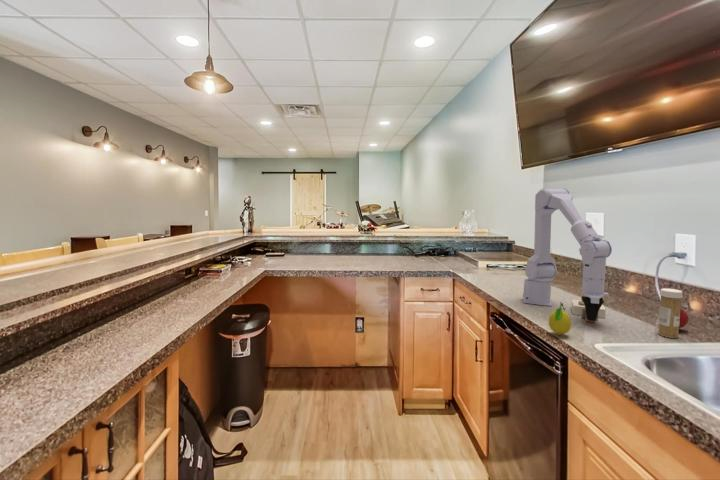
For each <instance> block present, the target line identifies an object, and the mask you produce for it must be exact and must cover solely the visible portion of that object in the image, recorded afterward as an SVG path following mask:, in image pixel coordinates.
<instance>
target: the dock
mask: <svg viewBox="0 0 720 480" xmlns="http://www.w3.org/2000/svg"><path fill="white" fill-rule="evenodd" d="M582 309H585V306H581V299H580V300H579V299H571V312H572V314H573V315H576V316H582ZM598 319H606V308H605V306H604V304H603V305H602V306H601V307H600V309H599V311H598Z"/></svg>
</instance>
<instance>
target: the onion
mask: <svg viewBox="0 0 720 480" xmlns="http://www.w3.org/2000/svg"><path fill="white" fill-rule="evenodd" d="M689 319H690V318H689V315H688V313H687V312H686V311H685V310H684V309H683V308H682V307H680V322H679V329H681V328H683V327H686V326H687V324H688V323H689V321H690V320H689Z"/></svg>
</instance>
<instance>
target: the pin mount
mask: <svg viewBox="0 0 720 480" xmlns="http://www.w3.org/2000/svg"><path fill="white" fill-rule="evenodd" d="M585 314H586V310H585V309H582V315H581V319H584V320H585ZM598 320H599V318H598V315H597V318H596V321H598Z"/></svg>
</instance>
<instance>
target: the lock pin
mask: <svg viewBox="0 0 720 480" xmlns="http://www.w3.org/2000/svg"><path fill="white" fill-rule="evenodd" d="M584 320H585V322H590V323H591V322H592V323H596V322H597V320H595V321H590V320H587V317H586V314H585V319H584Z"/></svg>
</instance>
